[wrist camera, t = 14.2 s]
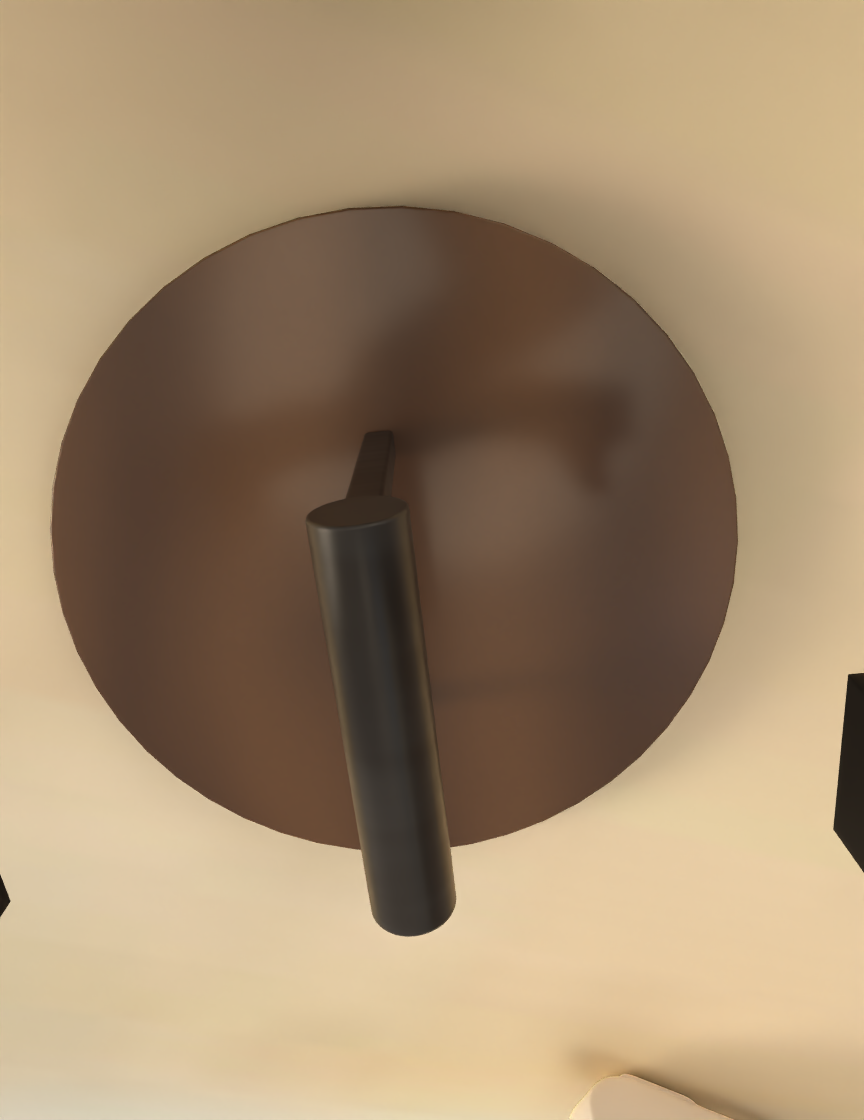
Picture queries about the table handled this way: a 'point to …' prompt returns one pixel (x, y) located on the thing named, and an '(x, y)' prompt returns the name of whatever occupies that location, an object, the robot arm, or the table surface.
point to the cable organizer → (637, 1102)
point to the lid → (394, 535)
